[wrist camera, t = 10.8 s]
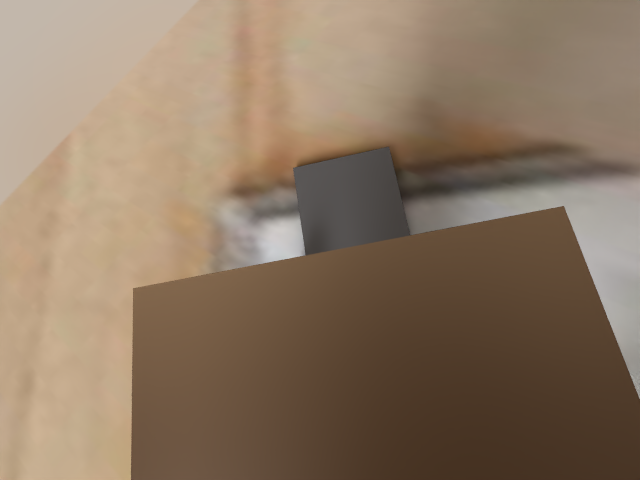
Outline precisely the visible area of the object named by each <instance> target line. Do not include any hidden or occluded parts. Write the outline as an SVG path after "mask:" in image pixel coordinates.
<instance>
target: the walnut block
mask: <svg viewBox="0 0 640 480" xmlns="http://www.w3.org/2000/svg"><path fill="white" fill-rule="evenodd" d="M131 480H640V399H639V397H638V394H637V391H636V389H635V386H634V384H633V381H632V379H631V376H630V374H629V371H628V369H627V366H626V363H625V361H624V358H623V356H622V353H621V351H620V348H619V346H618V343H617V340H616V338H615V335H614V333H613V330H612V328H611V325H610V323H609V320H608V318H607V315H606V312H605V310H604V307H603V305H602V302H601V300H600V297H599V295H598V292H597V290H596V287H595V284H594V282H593V279H592V277H591V274H590V272H589V269H588V267H587V264H586V262H585V259H584V256H583V254H582V251H581V249H580V246H579V244H578V241H577V239H576V236H575V233H574V231H573V228H572V226H571V223H570V221H569V218H568V216H567V213H566V211H565V208H564V206H562V207H557V208H551V209H546V210H541V211H536V212H530V213H525V214H520V215H515V216H509V217H504V218H499V219H494V220H489V221H483V222H478V223H473V224H468V225H462V226H457V227H452V228H447V229H442V230H436V231H431V232H426V233H421V234H415V235H410V236H405V237H400V238H394V239H389V240H384V241H379V242H374V243H368V244H363V245H358V246H353V247H347V248H342V249H337V250H332V251H327V252H321V253H316V254H311V255H306V256H300V257H295V258H290V259H285V260H279V261H274V262H269V263H264V264H259V265H253V266H248V267H243V268H238V269H232V270H227V271H222V272H217V273H212V274H206V275H201V276H196V277H191V278H185V279H180V280H175V281H170V282H164V283H159V284H154V285H149V286H144V287H138V288H133V357H132V445H131Z"/></svg>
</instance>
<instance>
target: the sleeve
mask: <svg viewBox="0 0 640 480" xmlns="http://www.w3.org/2000/svg"><path fill="white" fill-rule="evenodd" d="M293 170H294V177H295V184H296V191H297V198H298V205H299V212H300V219H301V225H302V232H303V239H304V246H305V253H306V255H311V254H316V253H321V252H327V251H332V250H337V249H342V248H347V247H353V246H358V245H363V244H368V243H374V242H379V241H384V240H389V239H394V238H400V237H405V236H410V233H409V228H408V224H407V220H406V216H405V212H404V208H403V203H402V199H401V195H400V191H399V187H398V182H397V178H396V174H395V170H394V166H393V162H392V157H391V153H390V149H389V147H385V148H381V149H376V150H372V151H367V152H363V153H358V154H354V155H349V156H345V157H340V158H336V159H331V160H327V161H322V162H318V163H313V164H309V165H304V166H300V167H295V168H293Z"/></svg>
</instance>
